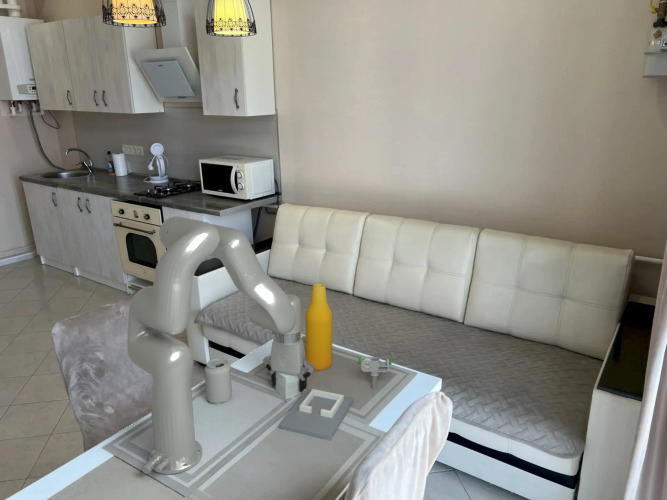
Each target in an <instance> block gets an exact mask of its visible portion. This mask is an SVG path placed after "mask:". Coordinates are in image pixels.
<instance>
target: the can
mask: <svg viewBox="0 0 667 500" xmlns="http://www.w3.org/2000/svg"><path fill="white" fill-rule="evenodd" d="M204 380H205V383H204V384H205V396H206V400H207V401H208V402H210V403H211V402H212V403H211V404H213V403H221V404H224V403H223V402H225V403H226V402H228V401H229V400H230V399H231V398H232V395H233V393H232V392H233V391H232V389H233V388H232V369H231V364H230V363H229V361H228V359H225V358H221V357H220V358H213V359H210V360H208V361H207V363H206V366H205V367H204ZM227 400H228V401H227Z"/></svg>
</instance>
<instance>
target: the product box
mask: <svg viewBox="0 0 667 500" xmlns="http://www.w3.org/2000/svg"><path fill="white" fill-rule="evenodd" d="M300 379H301V378H300V377H299V375H293V374H288V373H282V372H278V371H276V385H275V391H276V393H278V392H279V393H280V394H279V393H278V394H279V395H281V396H282V397H283V399H285V400H287V399H291V398H293V397H295V396H297V395H301V394H302V393H303V392H300V391H299V381H300Z"/></svg>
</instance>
